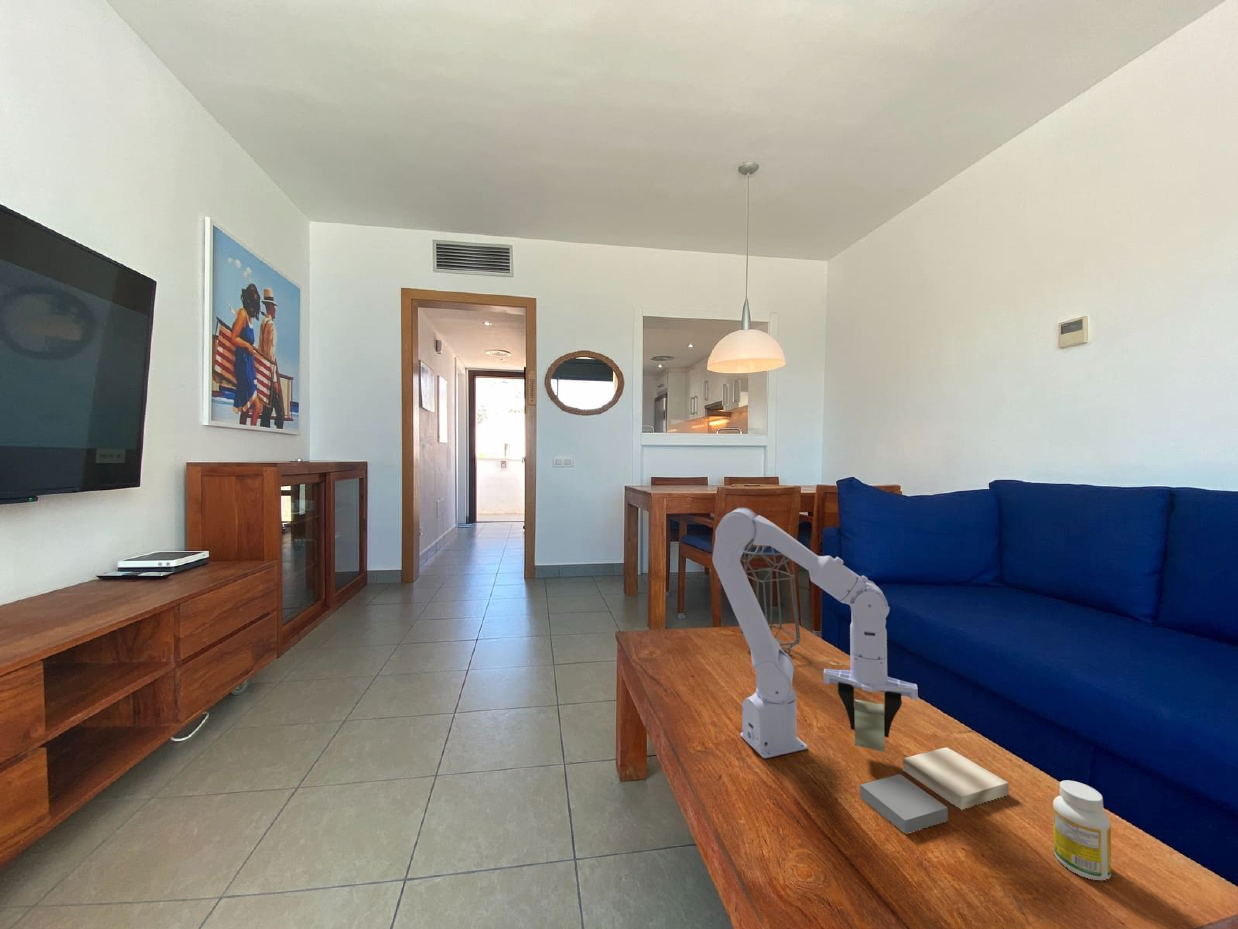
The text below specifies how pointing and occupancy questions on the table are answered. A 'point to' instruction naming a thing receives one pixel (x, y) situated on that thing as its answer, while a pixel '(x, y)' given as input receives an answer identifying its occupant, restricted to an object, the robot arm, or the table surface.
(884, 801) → the slate grey block
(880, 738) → the sage green block
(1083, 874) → the supplement bottle
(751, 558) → the geometric lantern
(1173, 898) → the table surface
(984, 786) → the pale ash block
